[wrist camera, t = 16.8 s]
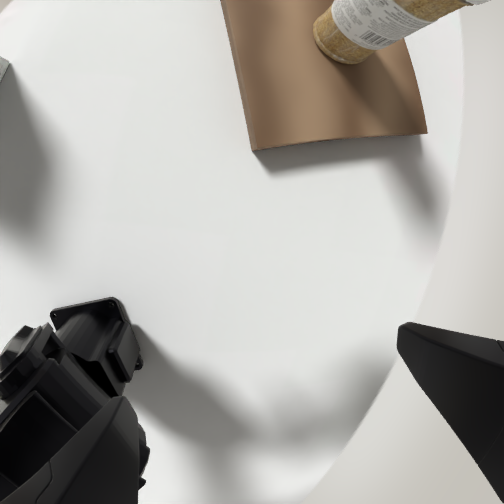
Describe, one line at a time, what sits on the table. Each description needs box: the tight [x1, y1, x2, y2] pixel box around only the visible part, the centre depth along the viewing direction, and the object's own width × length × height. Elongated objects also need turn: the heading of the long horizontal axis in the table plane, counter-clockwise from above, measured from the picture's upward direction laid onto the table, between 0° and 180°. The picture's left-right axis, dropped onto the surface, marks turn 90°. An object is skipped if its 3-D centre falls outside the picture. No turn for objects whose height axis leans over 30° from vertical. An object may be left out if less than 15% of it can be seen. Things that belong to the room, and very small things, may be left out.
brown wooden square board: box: [220, 0, 428, 151], centre depth 17 cm, size 14×14×2 cm
